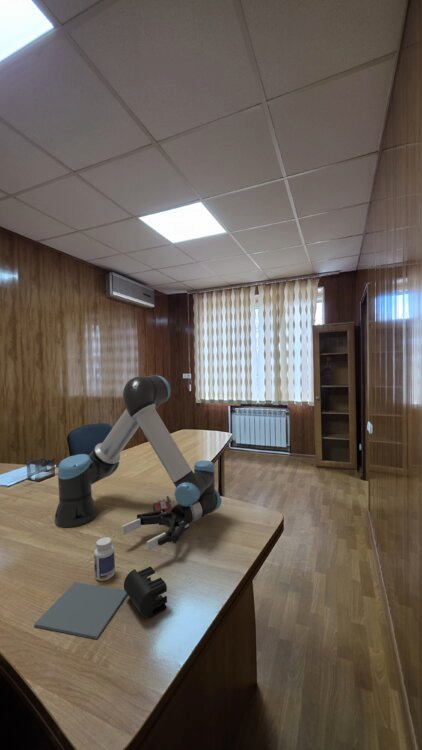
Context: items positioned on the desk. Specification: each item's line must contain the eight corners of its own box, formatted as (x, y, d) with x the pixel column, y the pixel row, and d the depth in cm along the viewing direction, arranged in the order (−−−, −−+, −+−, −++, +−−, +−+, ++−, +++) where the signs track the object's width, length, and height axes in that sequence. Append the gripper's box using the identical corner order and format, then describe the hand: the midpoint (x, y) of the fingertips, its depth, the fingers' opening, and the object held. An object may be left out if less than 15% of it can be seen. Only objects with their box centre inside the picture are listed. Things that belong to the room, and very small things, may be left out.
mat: (34, 626, 70) (34, 624, 70) (74, 584, 84) (74, 582, 84) (97, 639, 67) (97, 636, 67) (128, 592, 80) (128, 590, 80)
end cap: (123, 599, 78) (122, 573, 78) (149, 587, 82) (148, 562, 82) (140, 625, 70) (139, 596, 70) (168, 610, 74) (167, 582, 74)
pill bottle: (118, 570, 89) (117, 537, 89) (106, 583, 84) (105, 547, 84) (103, 567, 91) (102, 534, 91) (90, 579, 86) (89, 544, 85)
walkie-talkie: (181, 520, 118) (169, 499, 137) (181, 508, 118) (169, 489, 137) (158, 524, 115) (149, 502, 134) (158, 513, 115) (149, 492, 134)
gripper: (212, 535, 101) (160, 567, 86) (164, 512, 118) (113, 535, 103) (211, 512, 101) (159, 540, 86) (163, 493, 118) (113, 513, 103)
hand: (134, 538), depth 94 cm, fingers open, 13 cm apart
